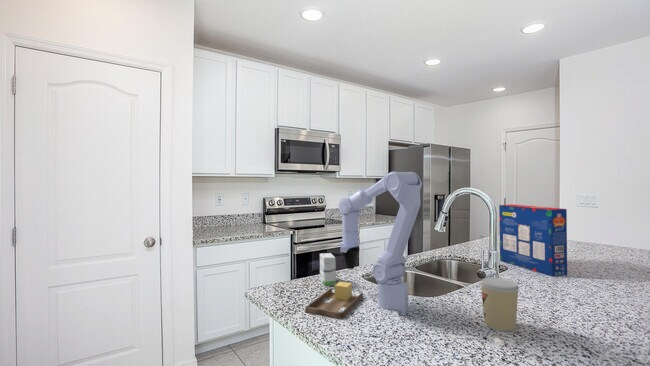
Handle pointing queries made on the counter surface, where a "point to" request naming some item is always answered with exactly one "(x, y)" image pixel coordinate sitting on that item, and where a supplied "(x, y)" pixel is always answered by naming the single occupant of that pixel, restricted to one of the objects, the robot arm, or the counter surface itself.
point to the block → (343, 290)
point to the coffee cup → (500, 303)
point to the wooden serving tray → (332, 305)
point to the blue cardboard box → (534, 238)
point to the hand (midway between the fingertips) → (350, 268)
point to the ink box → (327, 269)
